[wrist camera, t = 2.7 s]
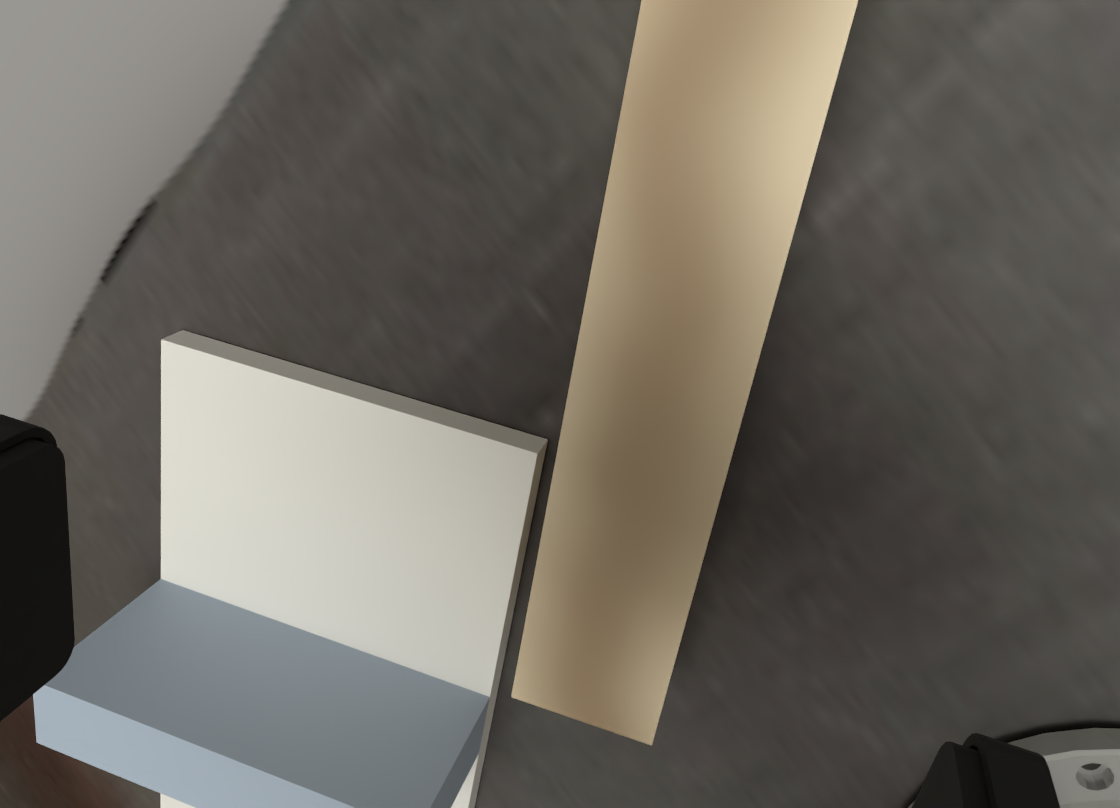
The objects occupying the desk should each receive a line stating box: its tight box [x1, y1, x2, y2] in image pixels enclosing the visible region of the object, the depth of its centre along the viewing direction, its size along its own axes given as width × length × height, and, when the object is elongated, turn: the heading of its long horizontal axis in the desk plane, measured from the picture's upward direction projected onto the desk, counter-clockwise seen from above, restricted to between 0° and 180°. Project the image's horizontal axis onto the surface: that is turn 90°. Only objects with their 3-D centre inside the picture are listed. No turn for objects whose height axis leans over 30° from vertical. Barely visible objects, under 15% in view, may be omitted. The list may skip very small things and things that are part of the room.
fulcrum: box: [33, 330, 548, 808], centre depth 28 cm, size 12×20×6 cm, turn 169°
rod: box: [511, 0, 858, 746], centre depth 22 cm, size 4×22×4 cm, turn 170°
